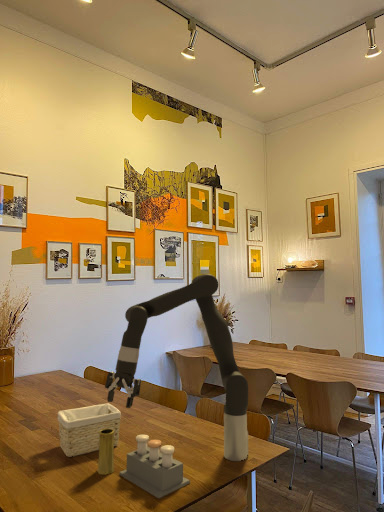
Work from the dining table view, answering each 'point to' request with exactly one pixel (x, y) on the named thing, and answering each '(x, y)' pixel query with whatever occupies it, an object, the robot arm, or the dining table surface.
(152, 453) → the knob mid
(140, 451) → the knob far
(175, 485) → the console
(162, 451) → the knob near
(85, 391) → the dining table surface
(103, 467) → the vase
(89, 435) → the storage basket
